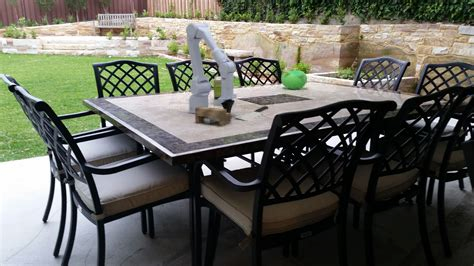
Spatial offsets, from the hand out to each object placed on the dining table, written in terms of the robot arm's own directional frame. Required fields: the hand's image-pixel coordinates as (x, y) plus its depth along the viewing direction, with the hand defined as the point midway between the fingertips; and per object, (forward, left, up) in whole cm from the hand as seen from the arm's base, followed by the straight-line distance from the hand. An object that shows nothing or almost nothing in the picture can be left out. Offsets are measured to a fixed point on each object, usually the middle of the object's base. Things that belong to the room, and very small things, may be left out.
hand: (227, 115), depth 189 cm
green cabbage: (-4, +101, -1) cm, 101 cm away
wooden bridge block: (0, -13, -1) cm, 13 cm away
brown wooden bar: (-2, -8, -1) cm, 8 cm away
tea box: (-20, +30, -1) cm, 36 cm away
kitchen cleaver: (+10, +13, -2) cm, 17 cm away
